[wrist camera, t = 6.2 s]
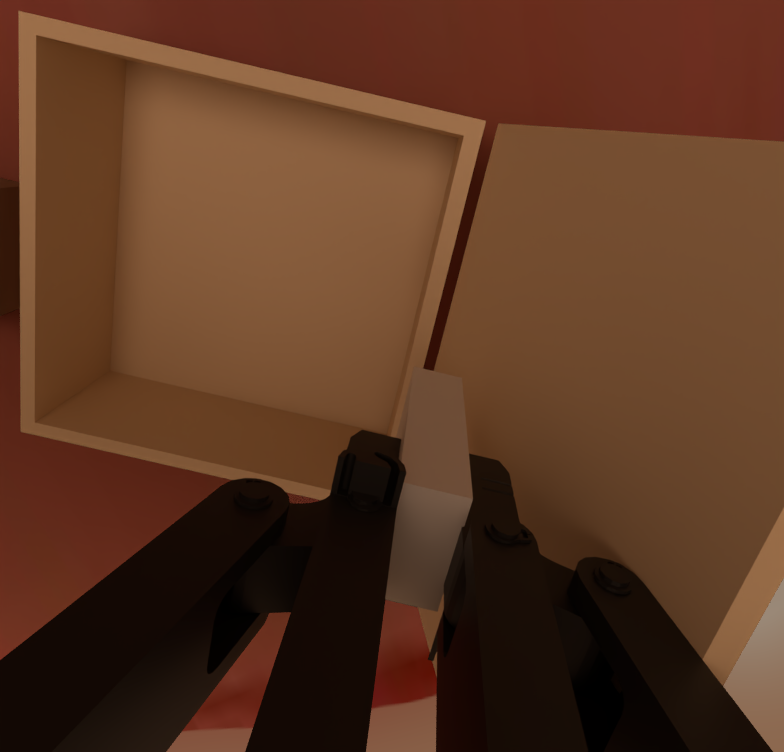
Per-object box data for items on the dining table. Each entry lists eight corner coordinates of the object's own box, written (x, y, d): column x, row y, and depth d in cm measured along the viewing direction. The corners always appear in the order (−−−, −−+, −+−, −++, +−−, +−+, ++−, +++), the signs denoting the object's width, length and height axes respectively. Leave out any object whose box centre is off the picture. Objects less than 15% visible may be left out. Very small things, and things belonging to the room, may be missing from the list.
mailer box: (104, 374, 33) (20, 431, 26) (120, 43, 27) (18, 10, 20) (396, 441, 33) (385, 514, 26) (474, 127, 27) (486, 120, 21)
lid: (522, 996, 12) (555, 993, 12) (972, 153, 6) (1020, 168, 6) (394, 520, 26) (410, 522, 26) (498, 123, 20) (517, 128, 20)
